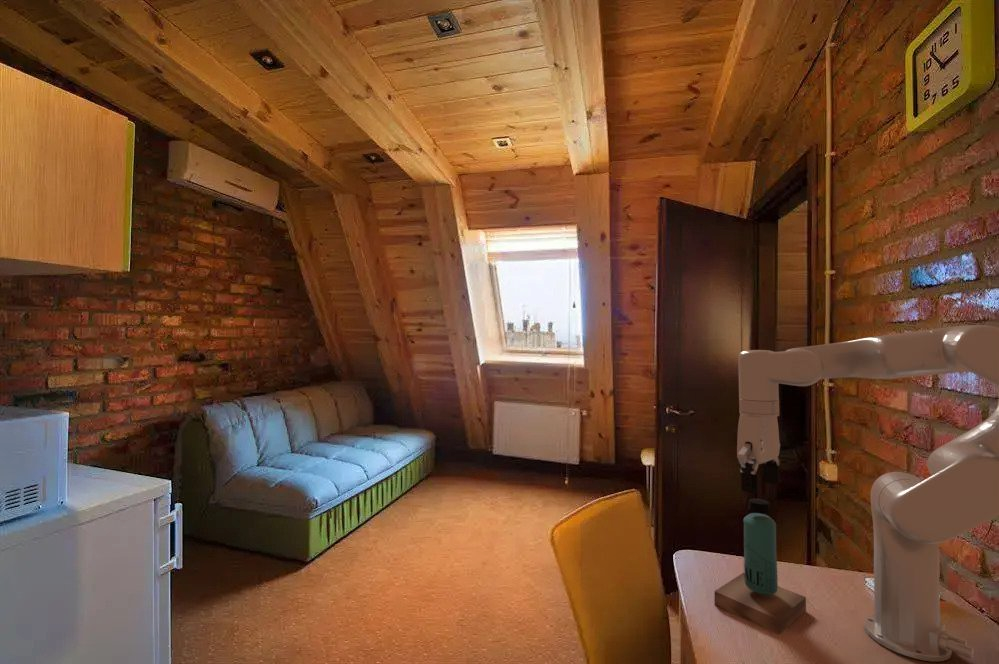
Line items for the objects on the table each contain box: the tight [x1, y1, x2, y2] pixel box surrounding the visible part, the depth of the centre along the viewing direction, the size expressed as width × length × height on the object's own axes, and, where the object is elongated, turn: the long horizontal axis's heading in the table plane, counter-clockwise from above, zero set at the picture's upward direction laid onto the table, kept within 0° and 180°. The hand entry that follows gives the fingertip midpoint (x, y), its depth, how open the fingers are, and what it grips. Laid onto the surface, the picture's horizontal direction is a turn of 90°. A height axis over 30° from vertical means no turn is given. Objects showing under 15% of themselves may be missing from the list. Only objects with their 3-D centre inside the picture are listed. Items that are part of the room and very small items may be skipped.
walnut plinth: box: [714, 572, 807, 636], centre depth 101 cm, size 13×13×3 cm
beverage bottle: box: [742, 498, 779, 594], centre depth 101 cm, size 6×7×20 cm
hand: (760, 487), depth 101 cm, fingers open, 9 cm apart
